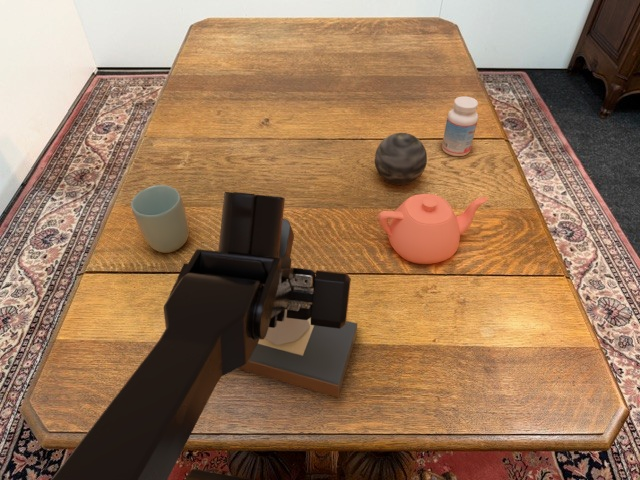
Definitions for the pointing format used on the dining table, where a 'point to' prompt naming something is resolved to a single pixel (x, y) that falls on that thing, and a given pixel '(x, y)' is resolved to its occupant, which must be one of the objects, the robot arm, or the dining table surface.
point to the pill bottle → (460, 126)
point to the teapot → (427, 228)
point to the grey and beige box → (307, 358)
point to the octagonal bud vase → (287, 330)
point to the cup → (161, 217)
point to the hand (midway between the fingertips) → (282, 285)
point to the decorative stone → (400, 158)
